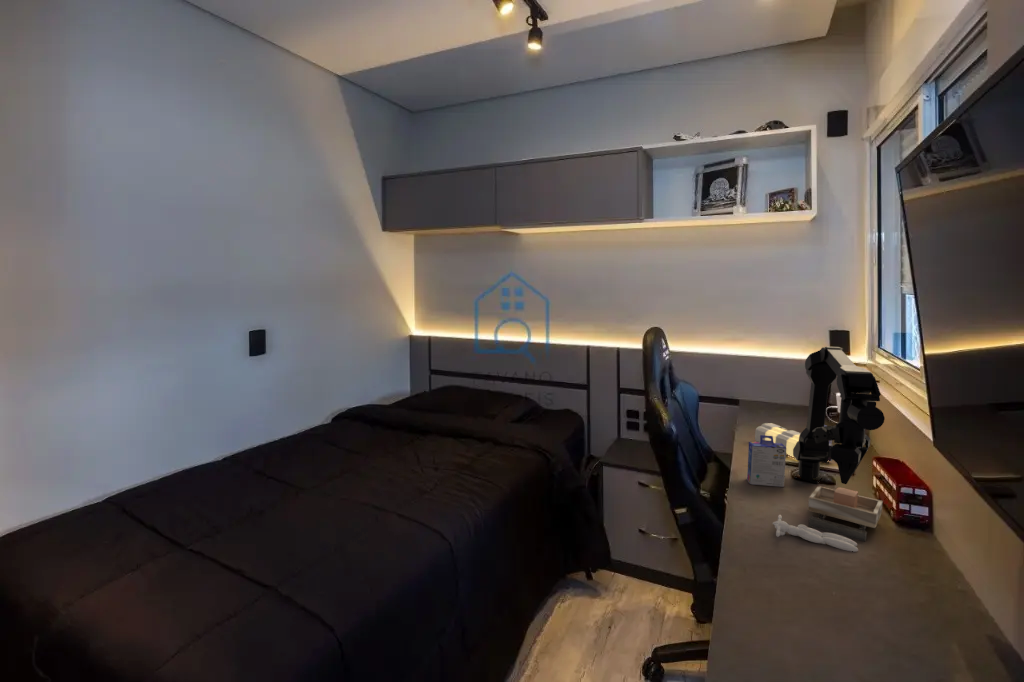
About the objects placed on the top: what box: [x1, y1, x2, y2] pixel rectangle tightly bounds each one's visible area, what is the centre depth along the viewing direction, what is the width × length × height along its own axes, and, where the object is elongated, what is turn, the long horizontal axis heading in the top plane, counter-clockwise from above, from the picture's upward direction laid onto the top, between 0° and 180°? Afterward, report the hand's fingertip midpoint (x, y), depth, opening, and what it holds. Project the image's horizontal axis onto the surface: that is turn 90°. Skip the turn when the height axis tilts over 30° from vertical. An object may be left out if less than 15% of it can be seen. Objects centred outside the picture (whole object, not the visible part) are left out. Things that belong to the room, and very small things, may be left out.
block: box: [833, 486, 859, 508], centre depth 136 cm, size 4×4×4 cm
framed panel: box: [808, 515, 868, 542], centre depth 140 cm, size 28×12×2 cm, turn 138°
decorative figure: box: [771, 514, 859, 553], centre depth 127 cm, size 4×12×18 cm
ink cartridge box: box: [746, 435, 787, 488], centre depth 161 cm, size 10×6×14 cm, turn 79°
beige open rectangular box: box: [807, 485, 884, 529], centre depth 137 cm, size 11×15×5 cm
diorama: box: [754, 422, 833, 462], centre depth 189 cm, size 25×10×13 cm, turn 17°
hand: (847, 478), depth 135 cm, fingers open, 9 cm apart
